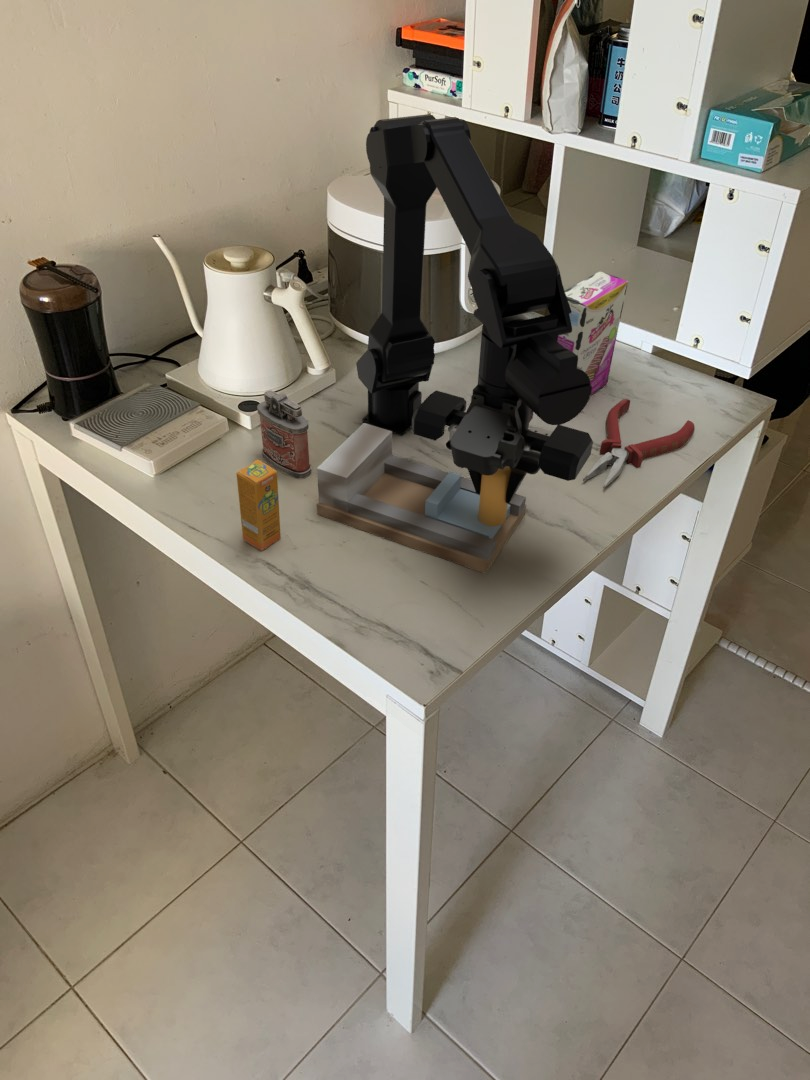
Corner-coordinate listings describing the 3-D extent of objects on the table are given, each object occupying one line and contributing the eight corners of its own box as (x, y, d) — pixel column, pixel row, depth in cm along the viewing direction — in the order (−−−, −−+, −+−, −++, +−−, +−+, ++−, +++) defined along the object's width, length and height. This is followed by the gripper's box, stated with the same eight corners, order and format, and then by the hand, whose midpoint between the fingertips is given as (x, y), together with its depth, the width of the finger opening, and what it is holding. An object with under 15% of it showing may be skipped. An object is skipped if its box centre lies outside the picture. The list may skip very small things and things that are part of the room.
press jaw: (424, 523, 102) (427, 464, 96) (448, 494, 106) (451, 436, 101) (492, 547, 99) (499, 487, 93) (514, 515, 103) (521, 457, 98)
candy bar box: (568, 414, 123) (586, 306, 113) (539, 402, 126) (553, 294, 115) (610, 384, 130) (630, 279, 119) (581, 373, 132) (598, 268, 122)
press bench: (317, 514, 105) (314, 470, 101) (366, 463, 113) (365, 420, 109) (485, 573, 98) (489, 528, 94) (524, 514, 106) (530, 470, 102)
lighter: (256, 456, 114) (248, 389, 108) (276, 446, 116) (269, 379, 110) (297, 482, 110) (292, 414, 104) (317, 471, 112) (313, 403, 106)
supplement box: (263, 553, 100) (254, 482, 93) (242, 540, 101) (232, 470, 95) (284, 539, 102) (277, 468, 95) (263, 526, 103) (255, 457, 97)
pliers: (551, 475, 113) (554, 458, 111) (619, 409, 126) (622, 393, 124) (633, 508, 108) (638, 491, 106) (695, 436, 121) (700, 420, 119)
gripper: (387, 387, 86) (387, 511, 96) (567, 438, 80) (547, 565, 90) (437, 340, 94) (431, 459, 104) (605, 383, 87) (582, 506, 98)
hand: (494, 496), depth 99 cm, fingers closed on press jaw, 3 cm apart
